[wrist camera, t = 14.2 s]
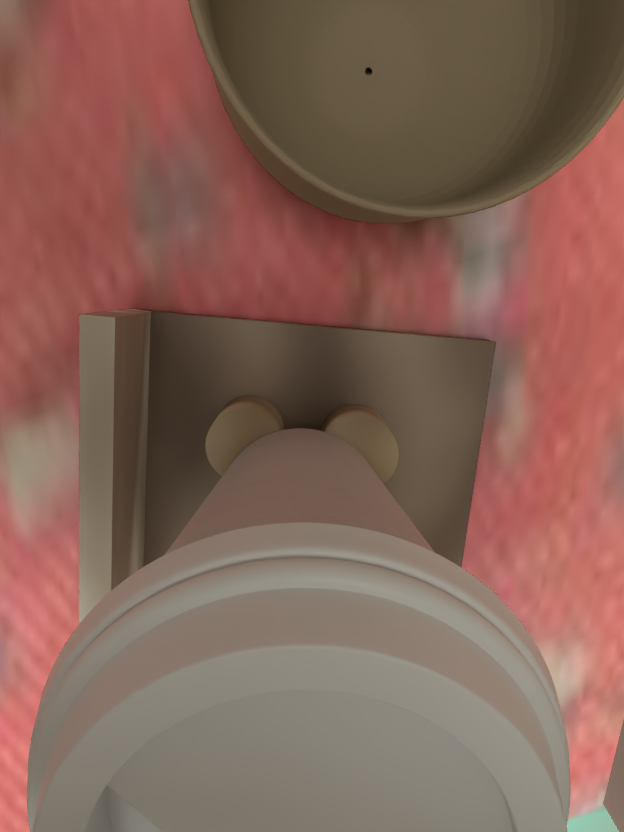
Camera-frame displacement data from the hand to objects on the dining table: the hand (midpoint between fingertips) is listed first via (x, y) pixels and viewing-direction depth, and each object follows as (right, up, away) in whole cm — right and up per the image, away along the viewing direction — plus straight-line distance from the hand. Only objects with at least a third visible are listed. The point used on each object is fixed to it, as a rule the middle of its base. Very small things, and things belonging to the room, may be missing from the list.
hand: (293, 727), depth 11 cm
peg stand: (0, +3, +16) cm, 16 cm away
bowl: (+3, +20, +13) cm, 24 cm away
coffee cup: (0, +2, +12) cm, 12 cm away
